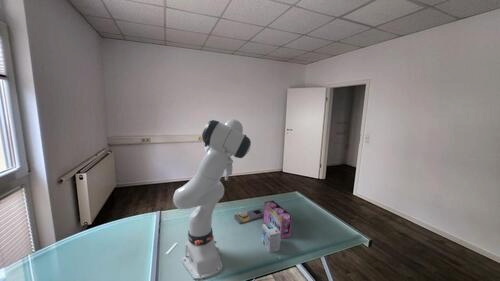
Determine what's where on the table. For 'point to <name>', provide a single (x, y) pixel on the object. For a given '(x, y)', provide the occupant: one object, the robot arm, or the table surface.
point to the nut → (243, 213)
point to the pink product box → (278, 218)
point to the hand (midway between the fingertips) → (223, 178)
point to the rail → (250, 216)
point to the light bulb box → (271, 237)
